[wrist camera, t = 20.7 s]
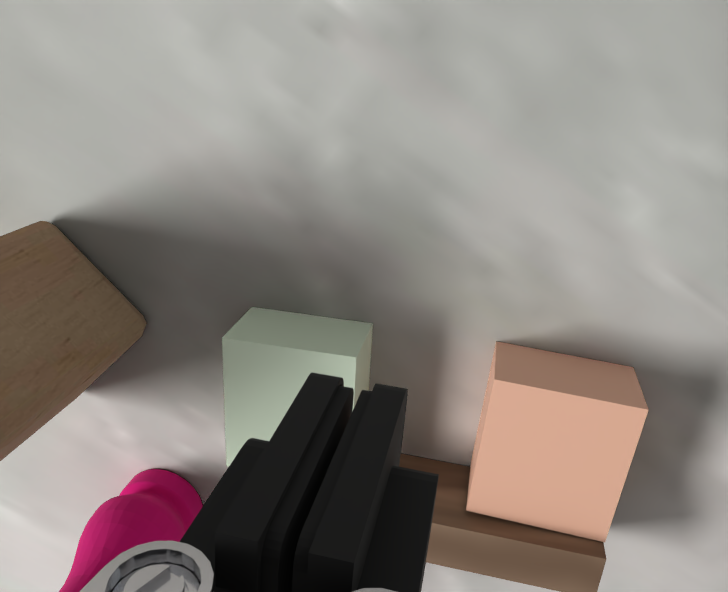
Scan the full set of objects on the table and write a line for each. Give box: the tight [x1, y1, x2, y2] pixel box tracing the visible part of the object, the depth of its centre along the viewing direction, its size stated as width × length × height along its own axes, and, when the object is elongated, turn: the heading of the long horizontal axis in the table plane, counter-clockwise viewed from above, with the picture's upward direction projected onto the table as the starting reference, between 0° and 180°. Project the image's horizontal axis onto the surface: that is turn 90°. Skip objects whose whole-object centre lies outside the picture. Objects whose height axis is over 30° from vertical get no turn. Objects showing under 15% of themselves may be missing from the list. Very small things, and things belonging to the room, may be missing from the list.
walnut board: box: [399, 454, 606, 592], centre depth 41 cm, size 3×22×6 cm, turn 85°
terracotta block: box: [466, 341, 649, 542], centre depth 38 cm, size 9×8×5 cm
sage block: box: [222, 307, 373, 466], centre depth 41 cm, size 9×8×5 cm
